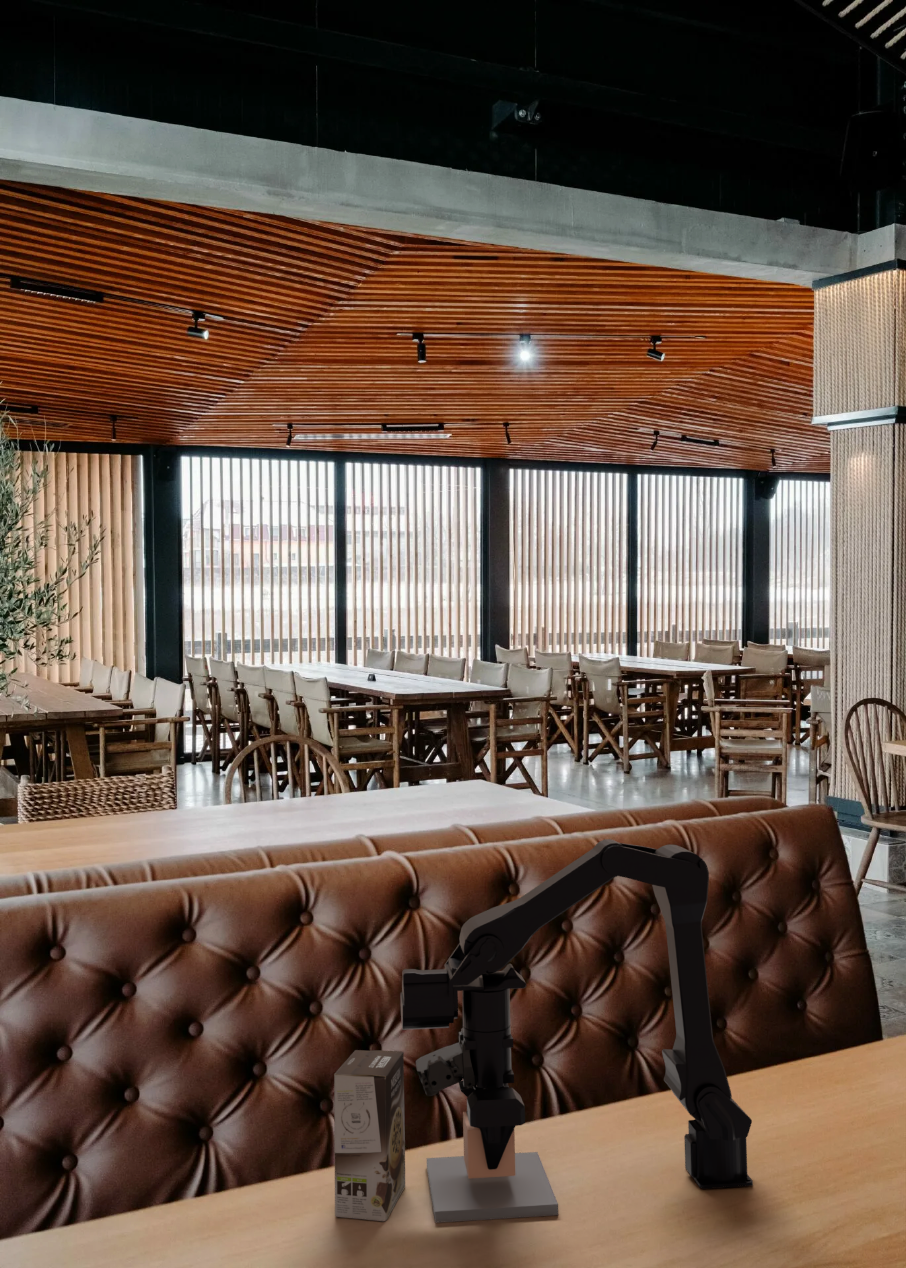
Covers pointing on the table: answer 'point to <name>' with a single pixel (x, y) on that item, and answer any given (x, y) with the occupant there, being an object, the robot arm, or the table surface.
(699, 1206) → the table surface
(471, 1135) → the terracotta block
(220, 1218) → the table surface
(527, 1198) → the slate board
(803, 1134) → the table surface
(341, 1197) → the coffee box
